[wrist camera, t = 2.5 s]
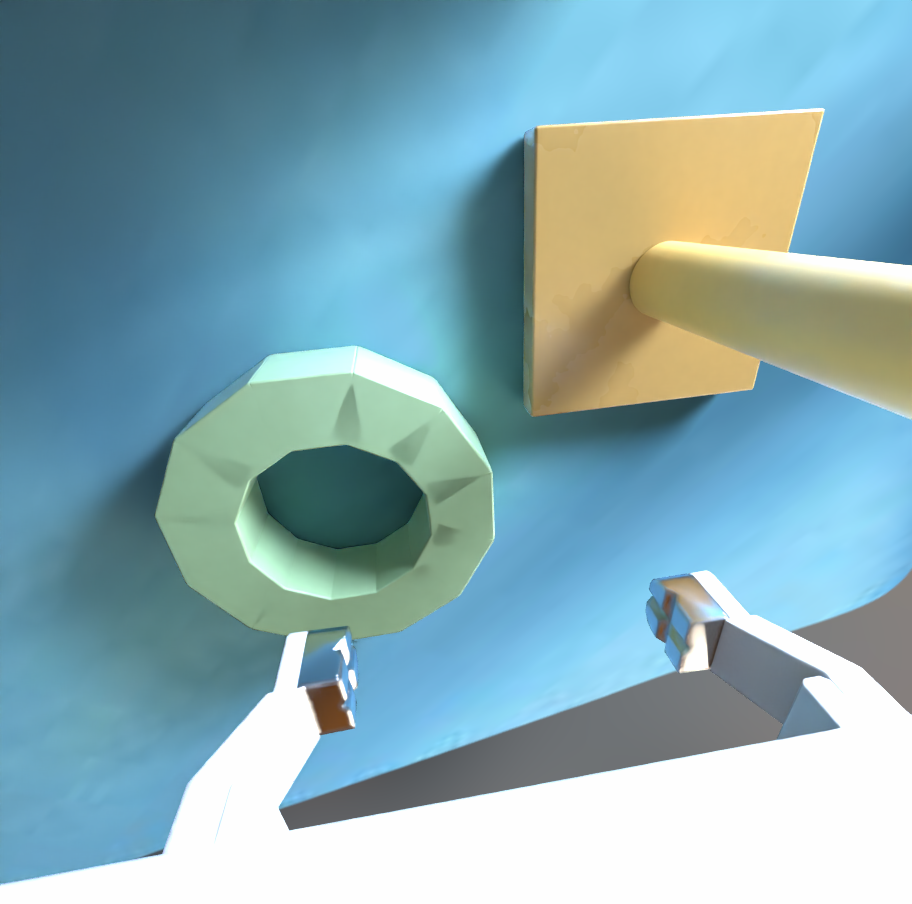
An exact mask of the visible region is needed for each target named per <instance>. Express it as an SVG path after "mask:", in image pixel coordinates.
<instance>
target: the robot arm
mask: <svg viewBox="0 0 912 904" xmlns="http://www.w3.org/2000/svg"><path fill="white" fill-rule="evenodd" d="M649 590H650V592H651V593H652V595H653V596H652V597H651V598H650V599H649V600H648V601H647V605H646V616H647V621H648V624H649V626H650V628H651V630H652V632H653V634H654V635H655V637H656V638H658V639H659V640H661V641H663V642H664V643H666V645H665V653H666V654H667V656H668V658H669V659H670V661H671V662H672V664H673V665H674V667H675V669H676V670H677V672H678V673H684V672H692V671H698V670H706V669H710V671H711V672H712V673H714V674H715V675H717V676H718V677H719V678H721V679H722V680H723V681H725V682H726V683H728V684H729V685H730V686H732V687H733V688H734V689H736V690H737V691H738V692H740V693H741V694H742V695H744V696H745V697H746V698H748V699H749V700H750V701H752V702H753V703H755V704H756V705H757V706H759V707H760V708H761V709H763V710H764V711H765V712H767V713H768V714H769V715H771V716H772V717H774V718H775V719H776V720H778V721H779V722H780V723H782V724H783V726H782V728H781V730H780V733H779V735H778V737H777V739H776V740H775V741H769V742H764V743H758V744H753V745H747V746H743V747H737V748H731V749H726V750H721V751H716V752H710V753H704V754H700V755H694V756H688V757H683V758H678V759H672V760H667V761H661V762H656V763H651V764H645V765H640V766H635V767H630V768H624V769H618V770H613V771H608V772H602V773H597V774H591V775H587V776H581V777H576V778H571V779H565V780H560V781H554V782H549V783H543V784H539V785H533V786H528V787H522V788H517V789H511V790H506V791H501V792H495V793H490V794H485V795H479V796H474V797H468V798H463V799H458V800H452V801H447V802H442V803H436V804H431V805H426V806H420V807H415V808H409V809H404V810H399V811H393V812H388V813H382V814H377V815H372V816H366V817H361V818H356V819H350V820H345V821H339V822H334V823H329V824H324V825H318V826H312V827H307V828H302V829H296V830H291V831H289V830H288V828H287V826H286V824H285V821H284V819H283V817H282V815H281V813H280V811H279V809H278V807H279V805H280V803H281V802H282V800H283V798H284V797H285V795H286V793H287V792H288V790H289V788H290V787H291V785H292V783H293V782H294V780H295V778H296V777H297V775H298V773H299V772H300V770H301V768H302V767H303V765H304V763H305V762H306V760H307V758H308V757H309V755H310V754H311V752H312V750H313V749H314V747H315V745H316V744H317V742H318V740H319V739H320V735H323V734H328V733H333V732H338V731H343V730H348V729H353V728H355V720H356V706H357V701H356V697H355V693H354V690H355V689H356V687H357V686H358V659H357V653H356V649H355V647H354V646H353V645H351V643H352V633H351V630H350V626H342V627H334V628H326V629H318V630H310V631H304V632H296V633H289V635H288V636H287V638H286V640H285V644H284V648H283V652H282V656H281V660H280V665H279V669H278V673H277V677H276V681H275V685H274V689H273V693H267V694H266V695H265V696H264V697H263V698H262V699H261V701H260V702H259V703H258V704H257V705H256V706H255V707H254V709H253V710H252V711H251V712H250V713H249V714H248V715H247V717H246V718H245V719H244V720H243V721H242V722H241V723H240V725H239V726H238V727H237V728H236V729H235V730H234V731H233V733H232V734H231V735H230V736H229V737H228V738H227V739H226V741H225V742H224V743H223V744H222V745H221V746H220V747H219V749H218V750H217V751H216V752H215V753H214V754H213V755H212V757H211V758H210V759H209V760H208V761H207V762H206V763H205V765H204V766H203V767H202V768H201V769H200V770H199V771H198V773H197V774H196V775H195V776H194V777H193V778H192V779H191V781H190V782H189V783H188V784H187V786H186V789H185V792H184V794H183V797H182V800H181V803H180V806H179V809H178V811H177V814H176V817H175V820H174V823H173V825H172V828H171V831H170V834H169V837H168V840H167V842H166V845H165V848H164V851H163V854H161V855H156V856H150V857H145V858H140V859H134V860H129V861H123V862H118V863H113V864H107V865H102V866H96V867H91V868H86V869H80V870H75V871H69V872H64V873H59V874H53V875H48V876H42V877H37V878H32V879H26V880H21V881H15V882H9V883H4V884H0V904H912V715H910V714H909V713H908V712H907V711H905V710H904V709H903V708H902V707H901V706H900V705H899V704H898V703H897V702H896V701H895V700H894V699H893V698H892V697H891V696H890V695H889V694H888V693H887V692H886V691H885V690H884V689H883V688H882V687H881V686H880V685H879V684H878V683H877V682H876V681H875V680H873V679H872V678H871V677H870V676H869V675H868V674H867V673H866V672H865V671H864V670H863V669H862V668H861V667H859V666H857V665H855V664H853V663H851V662H849V661H847V660H845V659H843V658H840V657H839V656H837V655H835V654H833V653H831V652H829V651H827V650H824V649H823V648H821V647H819V646H817V645H815V644H813V643H811V642H809V641H807V640H805V639H802V638H801V637H799V636H797V635H795V634H793V633H790V632H788V631H786V630H784V629H782V628H780V627H778V626H776V625H774V624H772V623H770V622H768V621H766V620H764V619H762V618H760V617H758V616H756V615H752V616H750V615H749V614H748V613H747V612H746V611H745V610H744V609H743V607H742V606H741V605H740V604H739V603H738V602H737V601H736V600H735V599H734V597H733V596H732V595H731V594H730V593H729V592H728V591H727V590H726V589H725V588H724V586H723V585H722V584H721V583H720V582H719V581H718V580H717V579H716V578H715V576H714V575H713V574H712V573H710V572H708V571H701V572H695V573H689V574H681V575H675V576H669V577H663V578H657V579H653V580H652V581H651V583H650V588H649Z"/></svg>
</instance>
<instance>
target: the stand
mask: <svg viewBox="0 0 912 904" xmlns="http://www.w3.org/2000/svg"><path fill="white" fill-rule="evenodd" d="M823 114H824V109H822V108H817V109H801V110H784V111H768V112H752V113H736V114H720V115H703V116H687V117H671V118H655V119H638V120H622V121H606V122H590V123H573V124H557V125H541V126H536V127H534V128H532V129H530V130H528V131H527V132H525V134H524V390H523V405H524V407H525V408H526V409H527V411H528V412H529V413H530V415H531V416H533V417H535V416H543V415H551V414H559V413H567V412H575V411H583V410H592V409H600V408H608V407H616V406H624V405H632V404H640V403H648V402H656V401H664V400H672V399H680V398H688V397H696V396H704V395H712V394H720V393H728V392H736V391H744V390H751V389H753V387H754V383H755V379H756V375H757V371H758V367H759V363H760V360H761V361H764V362H766V363H769V364H771V365H774V366H776V367H779V368H781V369H784V370H787V371H789V372H792V373H794V374H797V375H799V376H802V377H804V378H807V379H809V380H812V381H814V382H817V383H819V384H822V385H825V386H827V387H830V388H832V389H835V390H837V391H840V392H842V393H845V394H847V395H850V396H852V397H855V398H857V399H860V400H863V401H865V402H868V403H870V404H873V405H875V406H878V407H880V408H883V409H885V410H888V411H890V412H893V413H896V414H898V415H901V416H903V417H906V418H908V419H911V420H912V266H908V265H899V264H889V263H880V262H870V261H860V260H851V259H841V258H832V257H822V256H813V255H803V254H794V253H788V250H789V246H790V242H791V238H792V235H793V231H794V227H795V223H796V219H797V215H798V211H799V207H800V203H801V199H802V195H803V192H804V188H805V184H806V180H807V176H808V172H809V168H810V164H811V160H812V156H813V153H814V149H815V145H816V141H817V137H818V133H819V129H820V125H821V121H822V117H823Z"/></svg>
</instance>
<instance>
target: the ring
mask: <svg viewBox="0 0 912 904" xmlns="http://www.w3.org/2000/svg"><path fill="white" fill-rule="evenodd" d="M339 445H348V446H351V447H354V448H357V449H360V450H363V451H366V452H369V453H372V454H374V455H377V456H380V457H383V458H386V459H389V460H392V461H395V462H397V463H398V464H399V466H400V467H401V468H402V469H403V470H404V471H405V472H406V473H407V475H408V476H409V477H410V478H411V479H412V480H413V481H414V482H415V484H416V485H417V486H418V487H419V488H420V489H421V490H422V491H423V492H424V493H423V495H422V497H421V499H420V501H419V503H418V505H417V507H416V509H415V511H414V513H413V514H412V516H411V518H410V520H409V522H408V523H407V524H406V525H404V526H403V527H401V528H400V529H398V530H397V531H395V532H393V533H392V534H390V535H389V536H387V537H386V538H384V539H383V540H381V541H380V542H378V543H376V544H369V545H362V546H356V547H349V548H342V549H334V548H330V547H327V546H323V545H319V544H315V543H312V542H308V541H304V540H300V539H297V538H296V537H295V536H294V535H293V534H292V533H290V532H289V531H288V530H287V529H286V528H285V527H283V526H282V525H281V524H280V523H279V522H278V521H276V520H275V519H274V518H273V517H272V516H271V515H269V514H268V512H267V508H266V505H265V502H264V499H263V496H262V493H261V490H260V487H259V484H258V481H257V476H258V475H259V474H260V473H262V472H263V471H265V470H266V469H267V468H269V467H270V466H272V465H273V464H274V463H276V462H277V461H279V460H280V459H281V458H283V457H284V456H286V455H287V454H288V453H290V452H292V451H300V450H308V449H316V448H323V447H331V446H339ZM155 519H156V521H157V523H158V525H159V528H160V530H161V532H162V534H163V536H164V538H165V540H166V542H167V545H168V547H169V549H170V551H171V553H172V555H173V557H174V559H175V561H176V564H177V566H178V568H179V570H180V572H181V574H182V576H183V578H184V581H185V583H186V584H188V586H189V587H190V588H192V589H193V590H195V591H196V592H197V593H199V594H200V595H202V596H203V597H205V598H206V599H208V600H209V601H211V602H212V603H214V604H215V605H217V606H218V607H219V608H221V609H222V610H224V611H225V612H227V613H228V614H230V615H231V616H233V617H234V618H236V619H237V620H239V621H240V622H241V623H243V624H244V625H246V626H247V627H249V628H252V629H254V630H259V631H264V632H269V633H274V634H279V635H284V636H288V635H289V633H296V632H304V631H310V630H318V629H326V628H334V627H342V626H350V630H351V633H352V640H354V639H360V638H366V637H372V636H378V635H384V634H390V633H396V632H400V631H402V630H404V629H406V628H407V627H409V626H411V625H412V624H414V623H416V622H417V621H419V620H421V619H422V618H424V617H425V616H427V615H429V614H430V613H432V612H434V611H435V610H437V609H439V608H440V607H442V606H444V605H445V604H447V603H448V602H450V601H452V600H453V599H455V598H457V597H458V596H459V595H460V594H461V593H462V591H463V590H464V588H465V586H466V585H467V583H468V582H469V580H470V578H471V577H472V575H473V573H474V572H475V570H476V569H477V567H478V565H479V564H480V562H481V561H482V559H483V557H484V556H485V554H486V552H487V551H488V549H489V548H490V546H491V544H492V543H493V541H494V537H495V529H494V500H493V472H492V470H491V467H490V465H489V463H488V460H487V458H486V456H485V453H484V451H483V449H482V446H481V444H480V442H479V439H478V437H477V435H476V433H475V432H474V430H473V429H472V428H471V426H470V425H469V423H468V422H467V421H466V419H465V418H464V417H463V415H462V414H461V413H460V411H459V410H458V409H457V407H456V406H455V405H454V403H453V402H452V401H451V399H450V398H449V397H448V395H447V394H446V393H445V391H444V390H443V389H442V387H441V386H440V385H439V383H438V382H437V381H436V380H435V379H434V378H433V377H431V376H429V375H427V374H424V373H422V372H420V371H417V370H415V369H412V368H410V367H408V366H405V365H403V364H401V363H398V362H396V361H393V360H391V359H389V358H386V357H384V356H381V355H379V354H377V353H374V352H372V351H370V350H367V349H365V348H362V347H360V346H346V347H337V348H327V349H318V350H308V351H299V352H289V353H279V354H271V355H269V356H267V357H266V358H264V359H263V360H262V361H260V362H259V363H258V364H257V365H255V366H254V367H253V368H251V369H250V370H249V371H247V372H246V373H245V374H244V375H242V376H241V377H240V378H238V379H237V380H236V381H234V382H233V383H232V384H231V385H229V386H228V387H227V388H225V389H224V390H223V391H221V392H220V393H219V394H218V395H216V396H215V397H214V398H212V399H211V400H210V401H208V402H207V403H206V404H205V405H204V407H203V408H202V409H201V410H200V411H199V412H198V413H197V414H196V415H195V417H194V418H193V419H192V420H191V421H190V422H189V423H188V424H187V425H186V426H185V428H184V429H183V430H182V431H181V432H180V433H179V434H178V435H177V436H176V438H175V439H174V441H173V443H172V447H171V451H170V455H169V459H168V463H167V467H166V471H165V475H164V479H163V483H162V487H161V491H160V495H159V499H158V503H157V507H156V511H155Z"/></svg>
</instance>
